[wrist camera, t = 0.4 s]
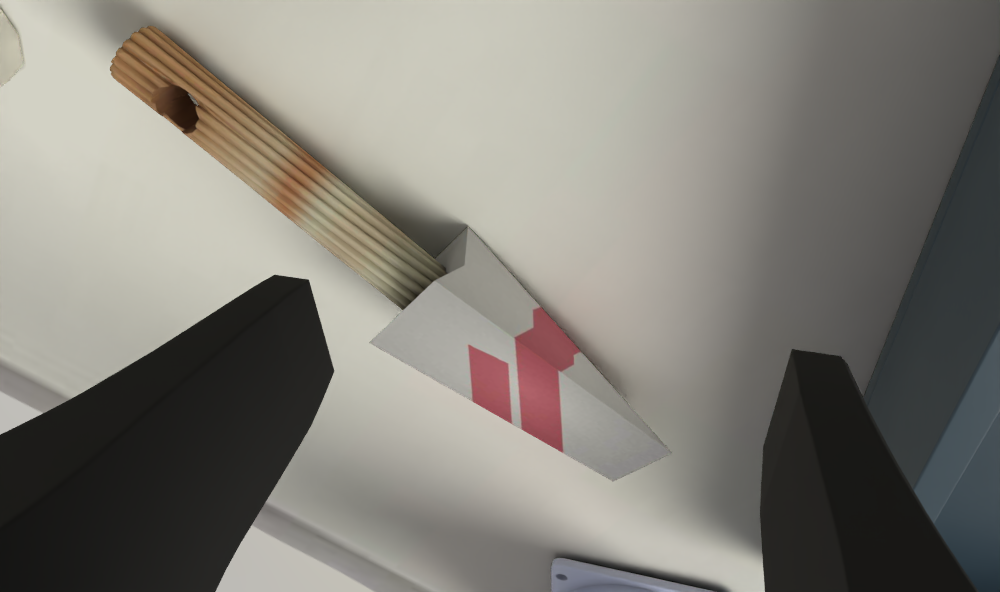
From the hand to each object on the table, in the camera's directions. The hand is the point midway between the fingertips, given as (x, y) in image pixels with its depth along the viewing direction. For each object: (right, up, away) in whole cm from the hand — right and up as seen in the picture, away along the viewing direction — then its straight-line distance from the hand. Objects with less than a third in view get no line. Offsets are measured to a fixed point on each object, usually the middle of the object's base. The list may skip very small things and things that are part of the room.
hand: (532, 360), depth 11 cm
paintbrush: (-3, +2, +12) cm, 13 cm away
